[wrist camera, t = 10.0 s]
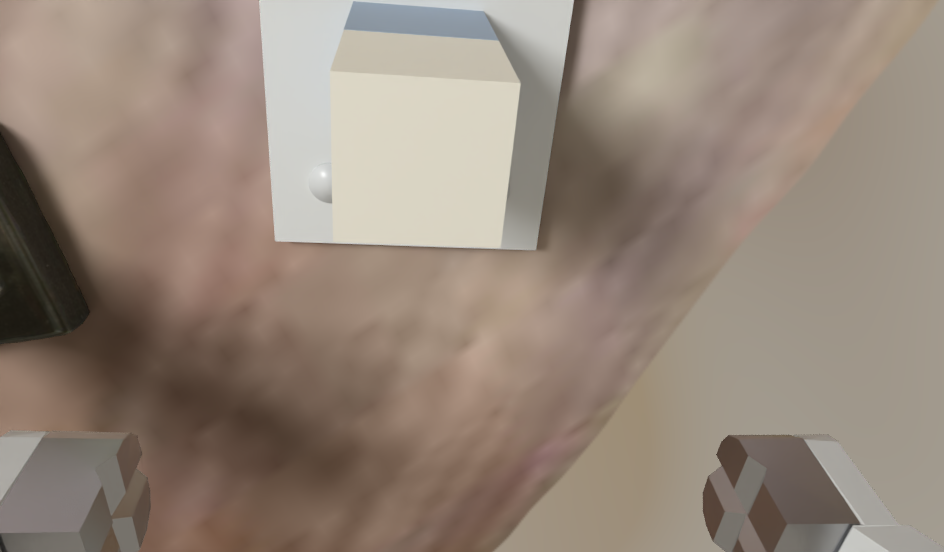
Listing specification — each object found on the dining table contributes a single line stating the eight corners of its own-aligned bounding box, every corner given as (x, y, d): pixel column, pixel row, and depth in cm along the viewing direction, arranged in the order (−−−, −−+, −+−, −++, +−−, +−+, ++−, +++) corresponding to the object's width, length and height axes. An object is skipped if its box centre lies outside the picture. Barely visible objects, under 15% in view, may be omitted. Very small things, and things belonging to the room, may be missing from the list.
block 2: (343, 29, 22) (329, 71, 18) (498, 40, 23) (520, 83, 18) (344, 175, 25) (332, 241, 20) (484, 181, 25) (500, 247, 21)
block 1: (353, 1, 26) (343, 29, 22) (483, 11, 27) (498, 40, 23) (353, 127, 29) (344, 175, 25) (472, 134, 30) (484, 181, 25)
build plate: (251, -180, 24) (245, -182, 23) (590, -145, 25) (597, -145, 24) (277, 232, 32) (274, 243, 31) (533, 242, 33) (536, 252, 33)
